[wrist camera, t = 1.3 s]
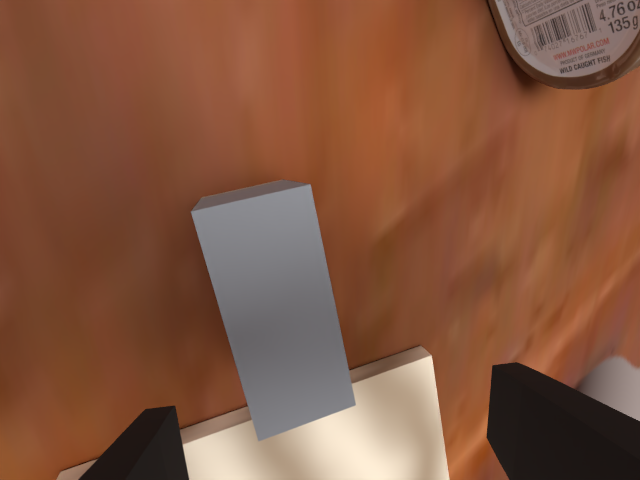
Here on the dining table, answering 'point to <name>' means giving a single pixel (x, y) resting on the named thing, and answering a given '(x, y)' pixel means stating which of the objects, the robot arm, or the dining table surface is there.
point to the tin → (571, 39)
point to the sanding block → (276, 302)
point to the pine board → (332, 434)
